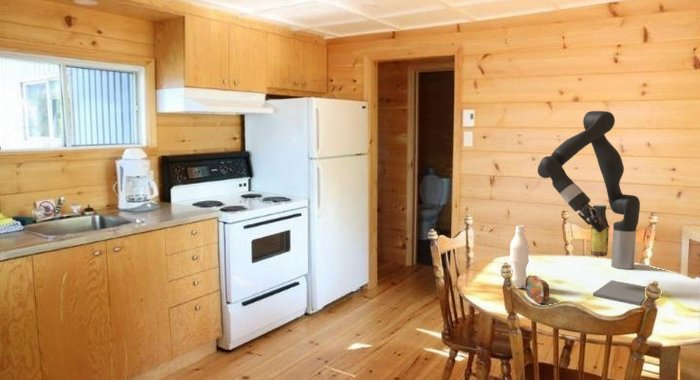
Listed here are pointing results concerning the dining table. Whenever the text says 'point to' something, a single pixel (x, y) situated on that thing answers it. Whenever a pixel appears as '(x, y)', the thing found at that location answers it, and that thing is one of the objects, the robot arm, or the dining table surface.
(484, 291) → the dining table surface
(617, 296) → the charcoal board
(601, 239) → the sauce bottle
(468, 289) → the dining table surface
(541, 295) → the tin
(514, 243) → the water bottle
